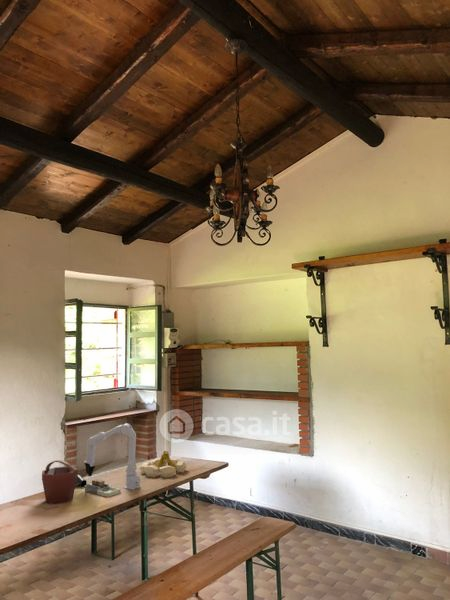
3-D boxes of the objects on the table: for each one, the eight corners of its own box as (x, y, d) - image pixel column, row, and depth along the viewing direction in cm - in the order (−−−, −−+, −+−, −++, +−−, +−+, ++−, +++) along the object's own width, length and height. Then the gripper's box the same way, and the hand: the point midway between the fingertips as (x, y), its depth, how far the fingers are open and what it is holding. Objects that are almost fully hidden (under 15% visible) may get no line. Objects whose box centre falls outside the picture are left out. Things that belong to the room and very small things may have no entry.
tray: (120, 492, 317) (120, 488, 317) (107, 497, 308) (107, 493, 308) (109, 490, 323) (109, 486, 324) (96, 494, 315) (96, 490, 315)
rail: (109, 490, 323) (109, 483, 323) (97, 494, 315) (97, 487, 316) (96, 487, 331) (96, 480, 332) (84, 490, 323) (84, 484, 324)
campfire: (166, 480, 344) (166, 456, 346) (132, 475, 362) (131, 452, 364) (193, 469, 374) (193, 447, 376) (160, 465, 391) (160, 444, 393)
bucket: (83, 499, 304) (83, 460, 307) (50, 508, 288) (50, 467, 291) (65, 492, 321) (65, 455, 324) (33, 500, 305) (34, 461, 308)
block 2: (104, 486, 322) (104, 480, 322) (99, 488, 319) (99, 482, 319) (100, 485, 324) (100, 479, 325) (96, 487, 321) (96, 481, 321)
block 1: (100, 485, 324) (100, 479, 325) (95, 487, 321) (95, 481, 322) (96, 484, 327) (96, 478, 327) (92, 486, 324) (92, 480, 324)
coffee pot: (81, 482, 343) (88, 486, 337) (59, 492, 329) (66, 496, 323) (81, 473, 342) (88, 476, 337) (59, 482, 328) (65, 486, 323)
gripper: (83, 452, 334) (81, 472, 332) (86, 457, 321) (84, 477, 320) (93, 452, 337) (91, 471, 336) (97, 456, 324) (95, 476, 323)
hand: (88, 474), depth 328 cm, fingers open, 7 cm apart
